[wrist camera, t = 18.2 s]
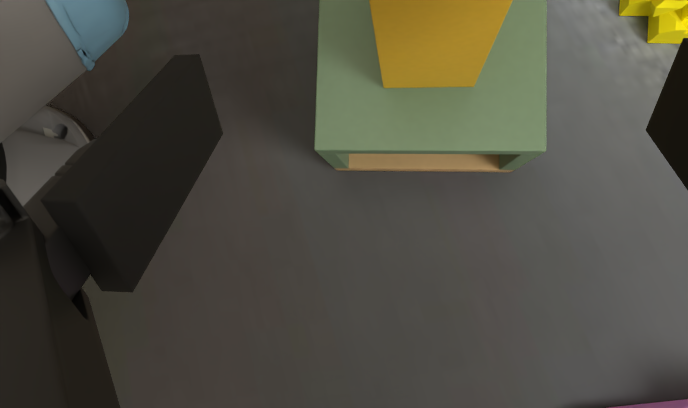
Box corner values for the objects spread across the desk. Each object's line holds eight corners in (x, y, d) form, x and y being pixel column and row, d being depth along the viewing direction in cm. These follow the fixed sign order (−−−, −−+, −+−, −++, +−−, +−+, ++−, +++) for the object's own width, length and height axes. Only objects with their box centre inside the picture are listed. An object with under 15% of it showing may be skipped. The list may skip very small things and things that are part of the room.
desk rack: (336, 170, 38) (308, 145, 27) (342, -16, 39) (317, -111, 28) (511, 172, 36) (555, 146, 25) (512, -24, 37) (555, -129, 26)
